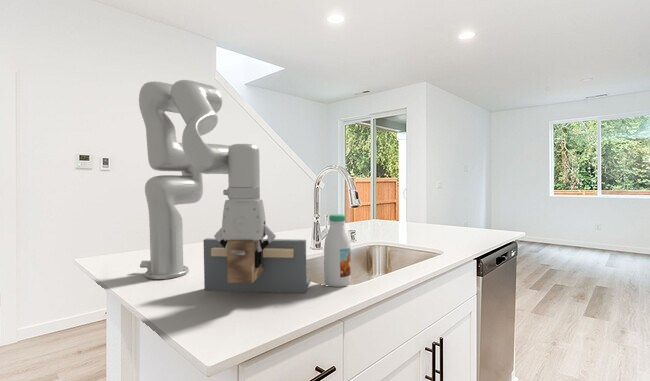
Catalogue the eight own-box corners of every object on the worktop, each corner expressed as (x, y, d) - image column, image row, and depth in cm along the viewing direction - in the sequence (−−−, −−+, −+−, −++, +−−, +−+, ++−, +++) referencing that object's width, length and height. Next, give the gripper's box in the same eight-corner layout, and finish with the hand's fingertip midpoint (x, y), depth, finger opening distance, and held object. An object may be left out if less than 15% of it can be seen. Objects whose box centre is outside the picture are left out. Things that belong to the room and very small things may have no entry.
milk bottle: (330, 289, 93) (330, 217, 92) (320, 281, 100) (319, 214, 99) (355, 285, 96) (355, 215, 95) (343, 278, 103) (343, 212, 102)
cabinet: (226, 284, 80) (225, 242, 79) (242, 270, 91) (241, 233, 90) (250, 284, 79) (250, 242, 79) (263, 271, 90) (263, 234, 89)
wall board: (201, 292, 90) (200, 241, 90) (219, 279, 102) (218, 233, 102) (304, 295, 88) (303, 242, 87) (310, 281, 100) (310, 234, 99)
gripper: (204, 195, 80) (205, 269, 81) (274, 195, 79) (275, 271, 80) (217, 193, 88) (218, 261, 89) (281, 193, 86) (282, 263, 87)
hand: (245, 265), depth 84 cm, fingers closed on cabinet, 6 cm apart
